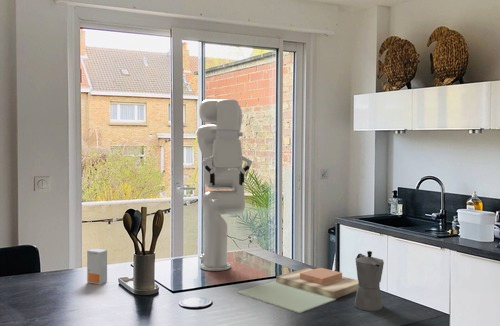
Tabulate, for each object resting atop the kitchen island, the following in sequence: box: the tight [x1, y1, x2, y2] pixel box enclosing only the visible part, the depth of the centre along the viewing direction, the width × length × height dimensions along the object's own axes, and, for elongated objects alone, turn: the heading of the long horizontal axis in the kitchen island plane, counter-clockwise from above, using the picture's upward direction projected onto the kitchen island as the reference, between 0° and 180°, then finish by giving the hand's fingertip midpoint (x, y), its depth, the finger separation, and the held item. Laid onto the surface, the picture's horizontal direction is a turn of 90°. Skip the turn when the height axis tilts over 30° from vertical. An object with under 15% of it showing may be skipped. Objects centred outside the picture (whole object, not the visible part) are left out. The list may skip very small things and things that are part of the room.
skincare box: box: [86, 248, 108, 286], centre depth 191 cm, size 6×4×12 cm
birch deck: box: [275, 267, 358, 300], centre depth 190 cm, size 26×18×2 cm
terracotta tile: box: [300, 267, 343, 284], centre depth 191 cm, size 10×12×2 cm
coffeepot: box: [354, 250, 385, 312], centre depth 169 cm, size 15×9×18 cm, turn 13°
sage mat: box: [236, 280, 337, 314], centre depth 177 cm, size 28×19×1 cm
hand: (227, 185), depth 180 cm, fingers open, 9 cm apart
